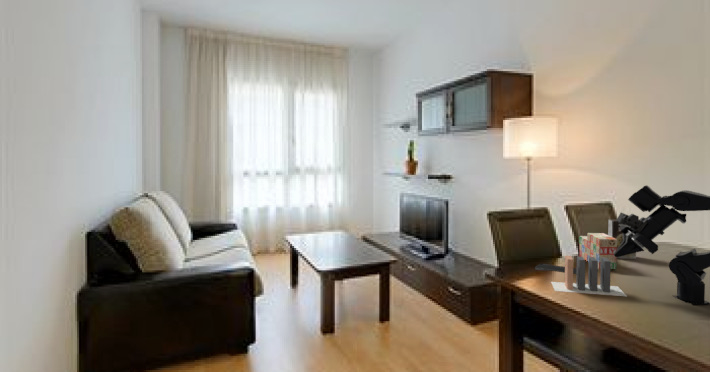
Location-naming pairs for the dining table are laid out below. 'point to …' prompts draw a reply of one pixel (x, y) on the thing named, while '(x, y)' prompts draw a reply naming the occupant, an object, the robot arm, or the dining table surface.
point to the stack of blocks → (598, 248)
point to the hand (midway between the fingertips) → (614, 256)
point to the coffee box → (618, 236)
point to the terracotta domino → (569, 272)
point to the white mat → (587, 289)
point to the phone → (553, 268)
